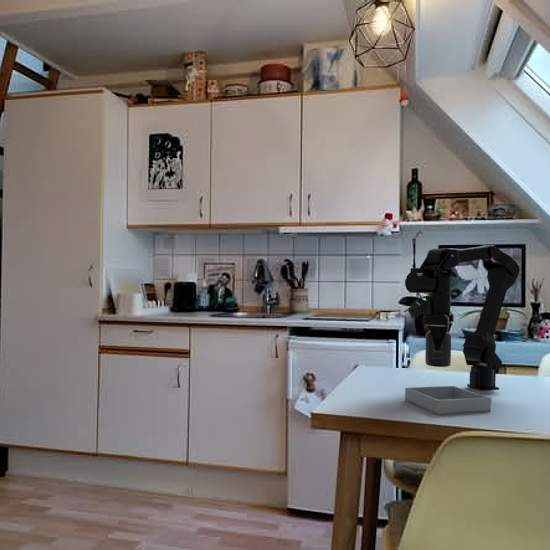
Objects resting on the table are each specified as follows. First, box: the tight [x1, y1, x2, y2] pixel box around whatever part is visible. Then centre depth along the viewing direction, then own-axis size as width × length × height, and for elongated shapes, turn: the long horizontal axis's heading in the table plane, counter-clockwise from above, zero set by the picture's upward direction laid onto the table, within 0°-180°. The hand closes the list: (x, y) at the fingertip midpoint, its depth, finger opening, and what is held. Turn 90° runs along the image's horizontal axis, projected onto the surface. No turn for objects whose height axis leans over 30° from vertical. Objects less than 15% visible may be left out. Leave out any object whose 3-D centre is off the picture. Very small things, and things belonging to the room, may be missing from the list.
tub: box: [404, 385, 492, 416], centre depth 130 cm, size 15×15×4 cm
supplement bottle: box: [424, 330, 452, 368], centre depth 145 cm, size 7×7×12 cm
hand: (438, 349), depth 145 cm, fingers closed on supplement bottle, 7 cm apart
